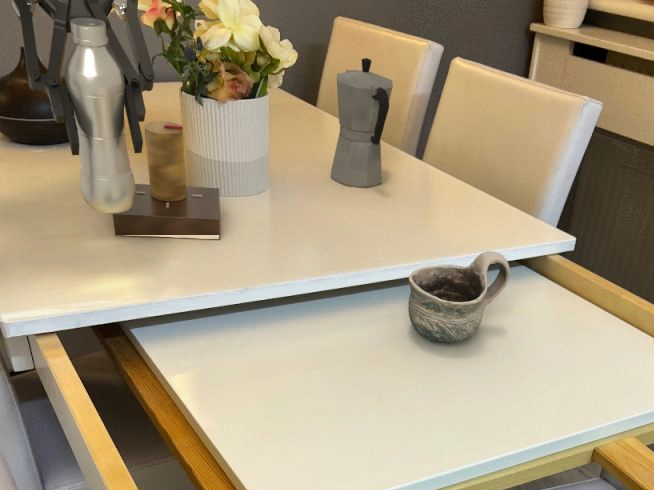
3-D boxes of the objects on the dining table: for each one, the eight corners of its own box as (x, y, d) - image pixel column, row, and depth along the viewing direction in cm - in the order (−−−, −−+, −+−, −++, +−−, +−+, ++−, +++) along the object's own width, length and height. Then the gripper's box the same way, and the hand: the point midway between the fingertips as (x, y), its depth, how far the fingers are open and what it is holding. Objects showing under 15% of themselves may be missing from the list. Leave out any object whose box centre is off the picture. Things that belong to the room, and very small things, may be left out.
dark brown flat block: (114, 235, 106) (112, 212, 104) (122, 200, 115) (120, 178, 113) (219, 240, 109) (219, 217, 107) (219, 205, 118) (219, 184, 115)
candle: (149, 200, 109) (143, 129, 102) (151, 186, 112) (145, 117, 106) (186, 202, 110) (182, 132, 103) (187, 188, 113) (183, 120, 107)
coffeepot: (316, 164, 135) (323, 46, 123) (367, 162, 138) (377, 47, 126) (349, 199, 125) (359, 75, 113) (402, 196, 128) (418, 75, 116)
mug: (386, 322, 97) (396, 245, 90) (465, 304, 103) (480, 230, 96) (431, 361, 92) (446, 282, 85) (512, 340, 98) (531, 264, 91)
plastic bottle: (88, 221, 93) (59, 29, 80) (79, 198, 97) (51, 13, 84) (143, 218, 96) (125, 31, 82) (132, 196, 100) (113, 15, 86)
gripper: (147, -27, 95) (188, 161, 96) (-26, -36, 88) (18, 167, 89) (153, -73, 88) (196, 129, 89) (-35, -87, 81) (13, 133, 82)
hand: (107, 148), depth 89 cm, fingers closed on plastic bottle, 6 cm apart
